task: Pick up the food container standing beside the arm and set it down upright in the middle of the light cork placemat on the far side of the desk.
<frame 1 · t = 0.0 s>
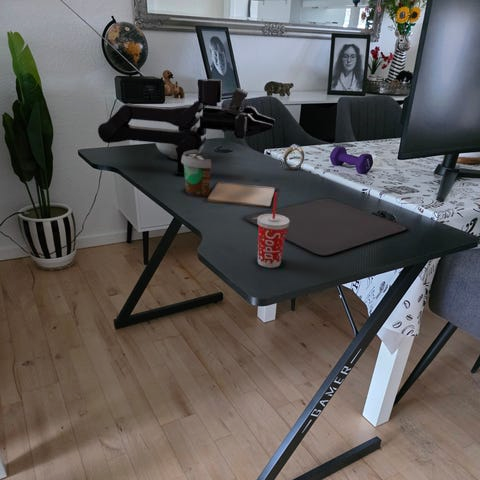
hand: (273, 124, 130), 17 cm above the table, tool horizontal, fingers open, 9 cm apart
food container: (193, 192, 125), on the table
cereal bowl: (180, 157, 158), on the table
placemat: (242, 194, 126), on the table
ring: (292, 169, 153), on the table
mouse pad: (325, 224, 110), on the table
beverage cup: (269, 263, 90), on the table
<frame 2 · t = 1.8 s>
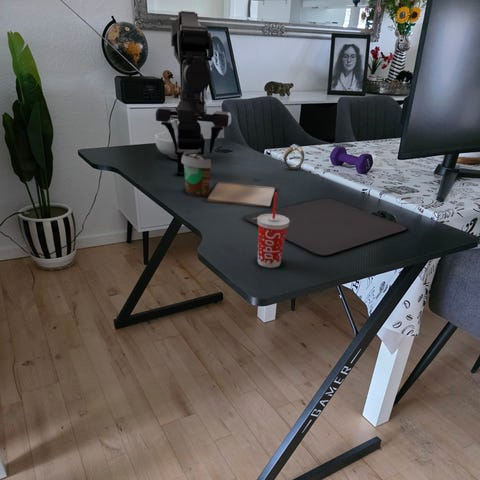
hand: (193, 151, 119), 11 cm above the table, tool pointing down, fingers open, 9 cm apart
nothing on the table moved.
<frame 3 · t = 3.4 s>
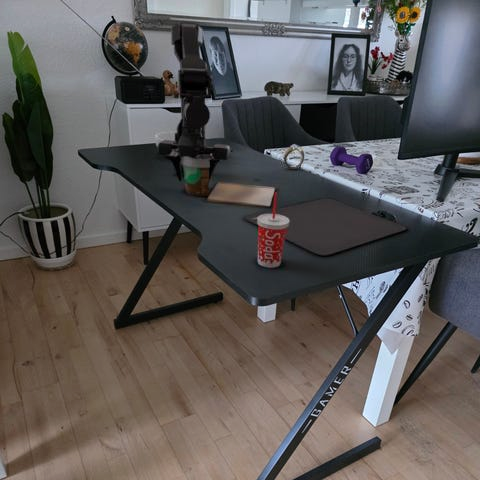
hand: (194, 182, 124), 3 cm above the table, tool pointing down, fingers closed on food container, 7 cm apart
food container: (193, 192, 125), on the table, touching gripper
everything else where it was.
when the fingers open (4 cm above the table, at t = 8.5 s): food container stays where it is, resting on placemat.
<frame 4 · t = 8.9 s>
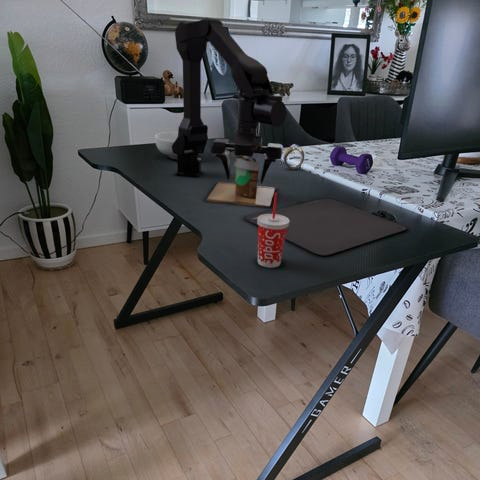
hand: (245, 181, 124), 4 cm above the table, tool pointing down, fingers open, 9 cm apart
food container: (242, 194, 125), resting on placemat
everything else where it was.
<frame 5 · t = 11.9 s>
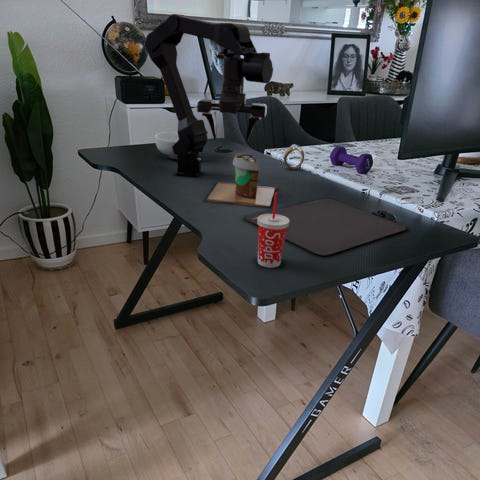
hand: (230, 141, 128), 12 cm above the table, tool pointing down, fingers open, 9 cm apart
nothing on the table moved.
at the end: food container inside the target area on the placemat (0.2 cm from its centre), point 0.2 cm above the placemat's base; food container tilted 0°; the gripper is holding nothing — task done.
